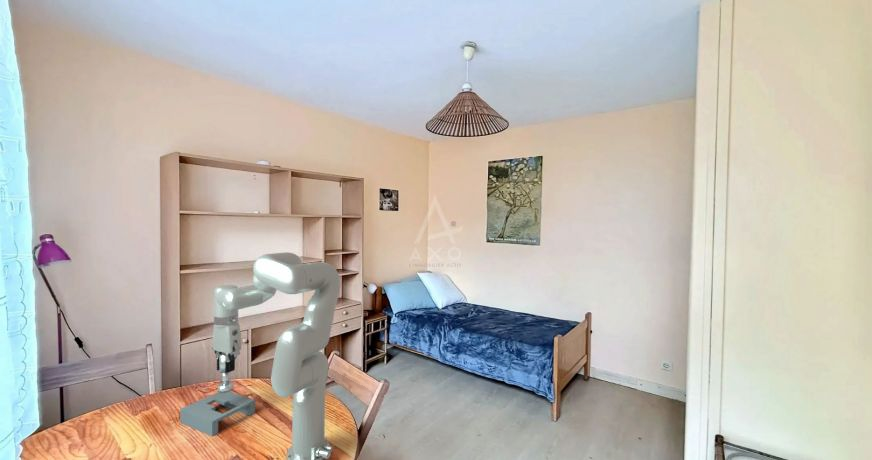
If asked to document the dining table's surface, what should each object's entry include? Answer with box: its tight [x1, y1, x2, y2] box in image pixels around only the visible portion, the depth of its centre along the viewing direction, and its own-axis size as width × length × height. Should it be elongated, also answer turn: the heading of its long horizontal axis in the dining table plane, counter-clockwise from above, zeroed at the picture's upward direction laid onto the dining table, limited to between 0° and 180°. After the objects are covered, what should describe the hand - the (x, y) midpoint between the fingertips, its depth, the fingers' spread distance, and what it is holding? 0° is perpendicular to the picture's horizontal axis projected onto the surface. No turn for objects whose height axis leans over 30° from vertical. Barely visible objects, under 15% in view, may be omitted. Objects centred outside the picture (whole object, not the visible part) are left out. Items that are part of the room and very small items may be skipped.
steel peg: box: [217, 353, 234, 393], centre depth 125 cm, size 5×5×13 cm
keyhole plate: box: [179, 391, 256, 437], centre depth 126 cm, size 18×16×5 cm
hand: (225, 369), depth 125 cm, fingers closed on steel peg, 4 cm apart
